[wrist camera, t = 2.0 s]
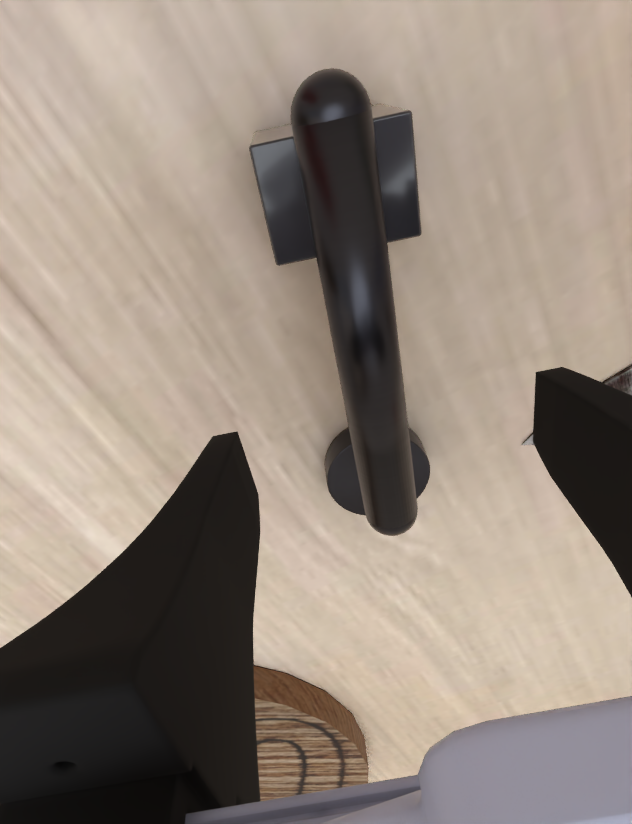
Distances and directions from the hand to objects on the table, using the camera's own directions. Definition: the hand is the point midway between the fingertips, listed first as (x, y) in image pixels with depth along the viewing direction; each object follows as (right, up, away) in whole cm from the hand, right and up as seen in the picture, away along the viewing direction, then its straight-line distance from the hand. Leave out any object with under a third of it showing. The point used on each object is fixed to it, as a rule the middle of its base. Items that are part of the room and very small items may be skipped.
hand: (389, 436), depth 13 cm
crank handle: (0, +4, +7) cm, 8 cm away
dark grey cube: (-1, +8, +4) cm, 9 cm away
